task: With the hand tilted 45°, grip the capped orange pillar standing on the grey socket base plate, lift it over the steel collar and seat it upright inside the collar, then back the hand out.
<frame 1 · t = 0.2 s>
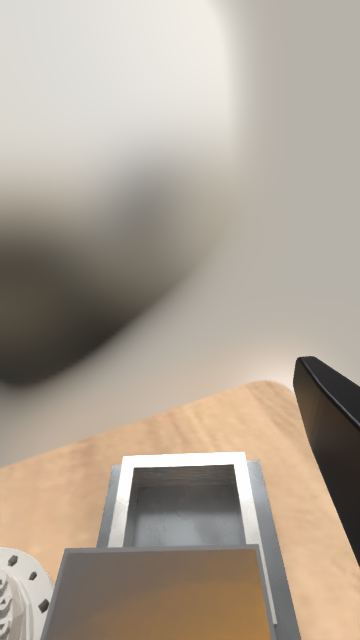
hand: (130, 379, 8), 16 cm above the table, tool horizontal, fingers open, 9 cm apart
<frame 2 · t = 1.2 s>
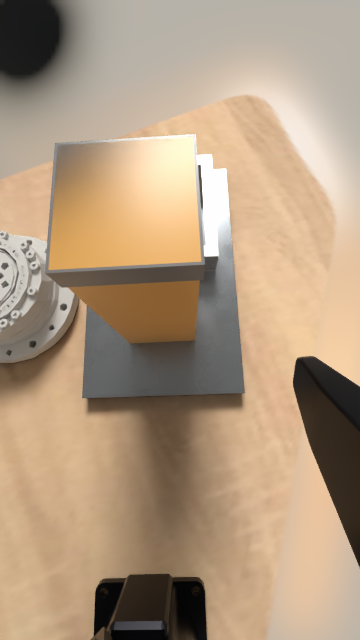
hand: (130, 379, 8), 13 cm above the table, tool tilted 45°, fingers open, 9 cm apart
grey socket base plate: (162, 277, 23), on the table
capped orange pillar: (161, 310, 22), point 1 cm above the table, touching grey socket base plate
mechanical component: (20, 301, 24), on the table
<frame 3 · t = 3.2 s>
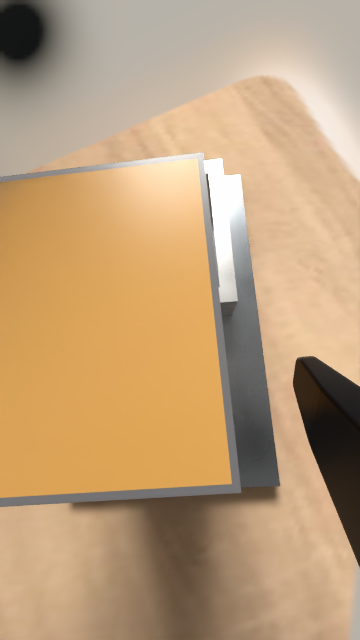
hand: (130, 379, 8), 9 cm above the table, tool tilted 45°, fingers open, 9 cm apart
grey socket base plate: (163, 321, 18), on the table
capped orange pillar: (163, 371, 16), point 1 cm above the table, touching grey socket base plate
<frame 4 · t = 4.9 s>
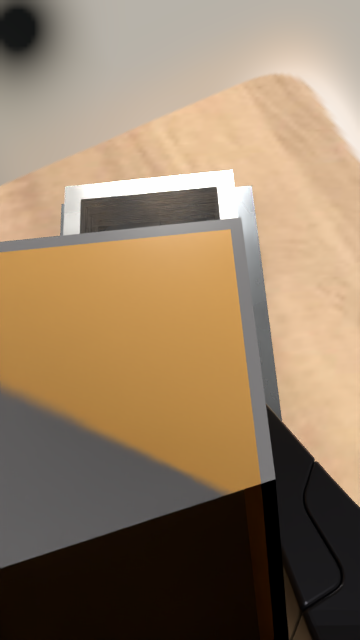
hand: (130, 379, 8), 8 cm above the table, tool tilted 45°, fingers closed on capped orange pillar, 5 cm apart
grey socket base plate: (163, 353, 16), on the table
capped orange pillar: (163, 414, 14), point 1 cm above the table, touching grey socket base plate, gripper
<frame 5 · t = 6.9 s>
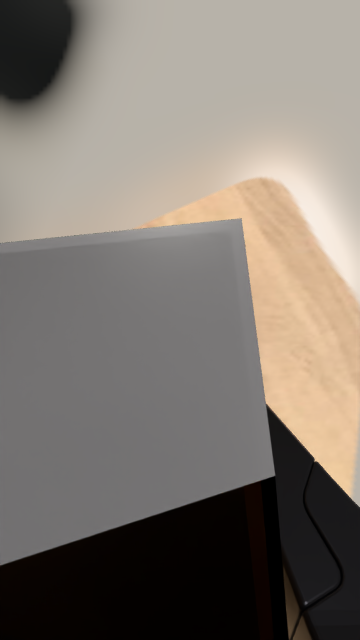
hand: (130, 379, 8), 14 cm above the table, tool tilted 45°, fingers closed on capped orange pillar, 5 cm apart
capped orange pillar: (163, 414, 14), point 7 cm above the table, touching gripper
when the fingers open (9 cm above the table, at t = 9.3 s): capped orange pillar drops 1 cm, resting on grey socket base plate.
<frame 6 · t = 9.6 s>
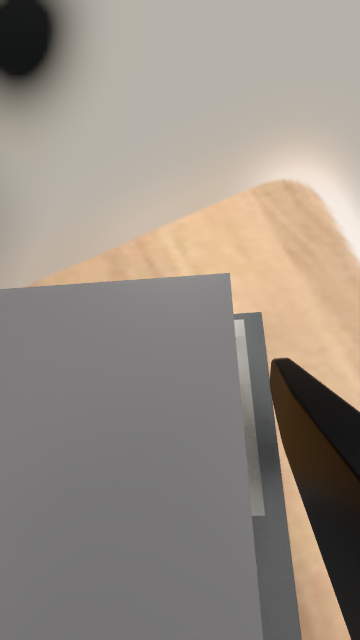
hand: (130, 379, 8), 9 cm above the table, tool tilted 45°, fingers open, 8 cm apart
grey socket base plate: (172, 488, 16), on the table
capped orange pillar: (166, 411, 16), point 1 cm above the table, touching grey socket base plate
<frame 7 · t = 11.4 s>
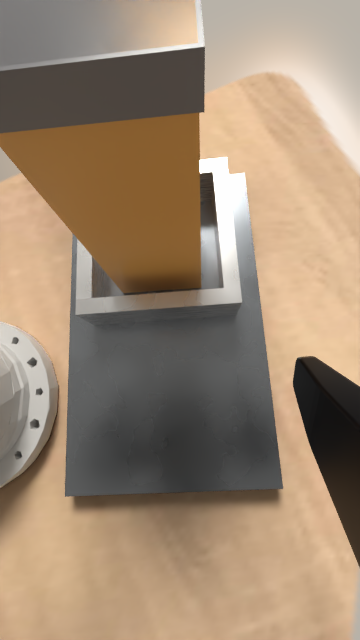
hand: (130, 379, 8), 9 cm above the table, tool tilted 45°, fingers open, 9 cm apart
grey socket base plate: (165, 322, 18), on the table
capped orange pillar: (160, 254, 18), point 1 cm above the table, touching grey socket base plate
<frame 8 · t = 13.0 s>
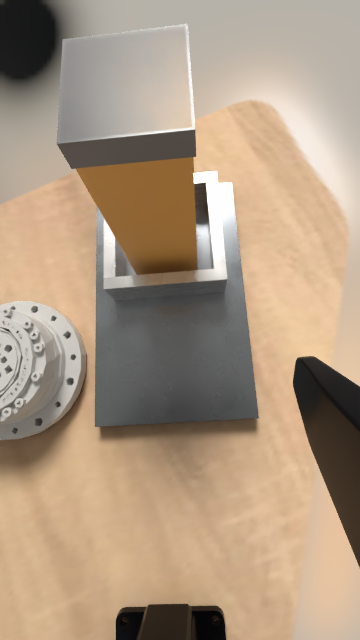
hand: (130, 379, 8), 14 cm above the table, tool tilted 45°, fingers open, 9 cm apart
grey socket base plate: (170, 298, 23), on the table
capped orange pillar: (166, 245, 23), point 1 cm above the table, touching grey socket base plate
mechanical component: (26, 368, 23), on the table
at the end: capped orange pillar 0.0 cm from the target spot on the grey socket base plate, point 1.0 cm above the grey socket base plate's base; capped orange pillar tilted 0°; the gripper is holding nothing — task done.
